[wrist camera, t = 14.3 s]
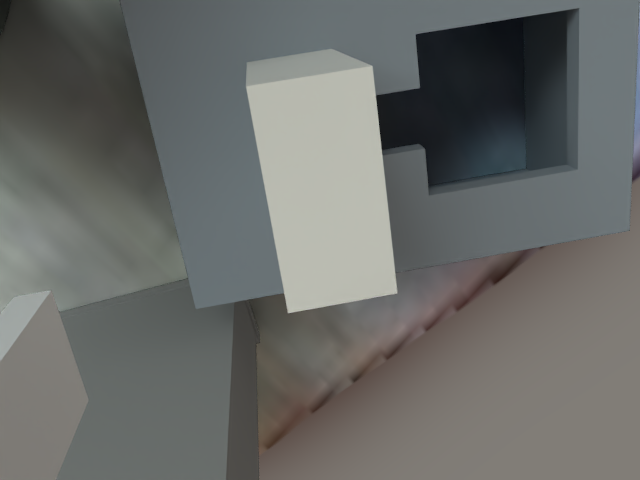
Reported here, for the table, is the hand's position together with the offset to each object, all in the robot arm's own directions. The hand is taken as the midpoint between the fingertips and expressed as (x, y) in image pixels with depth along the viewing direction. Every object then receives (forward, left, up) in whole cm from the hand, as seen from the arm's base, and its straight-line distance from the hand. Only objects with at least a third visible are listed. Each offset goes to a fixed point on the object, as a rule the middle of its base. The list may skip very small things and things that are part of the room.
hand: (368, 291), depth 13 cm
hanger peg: (0, 0, -24) cm, 24 cm away
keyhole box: (+5, 0, -29) cm, 29 cm away
